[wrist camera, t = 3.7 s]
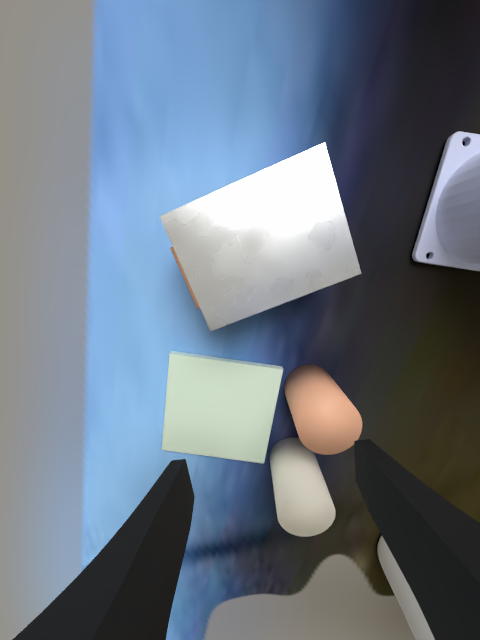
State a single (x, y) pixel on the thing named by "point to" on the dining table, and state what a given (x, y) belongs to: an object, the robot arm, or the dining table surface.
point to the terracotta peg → (321, 411)
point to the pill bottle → (403, 593)
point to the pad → (219, 406)
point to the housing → (263, 239)
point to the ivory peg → (300, 489)
